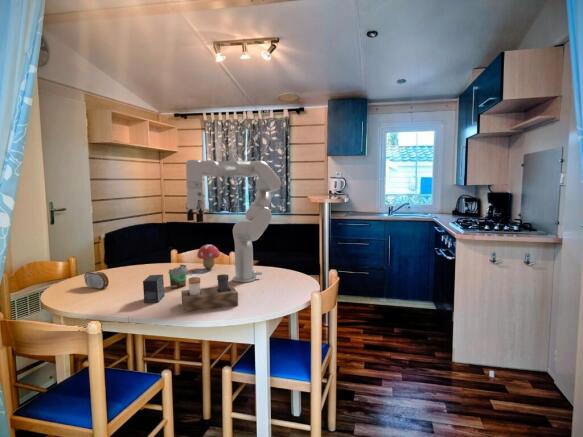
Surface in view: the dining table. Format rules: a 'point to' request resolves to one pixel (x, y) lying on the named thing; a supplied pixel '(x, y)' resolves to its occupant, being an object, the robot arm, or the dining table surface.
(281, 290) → the dining table surface
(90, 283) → the tin
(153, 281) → the small box
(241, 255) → the robot arm
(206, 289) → the block
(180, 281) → the food container
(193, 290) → the orange-brown and white plug
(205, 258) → the decorative mushroom
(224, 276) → the black plug
